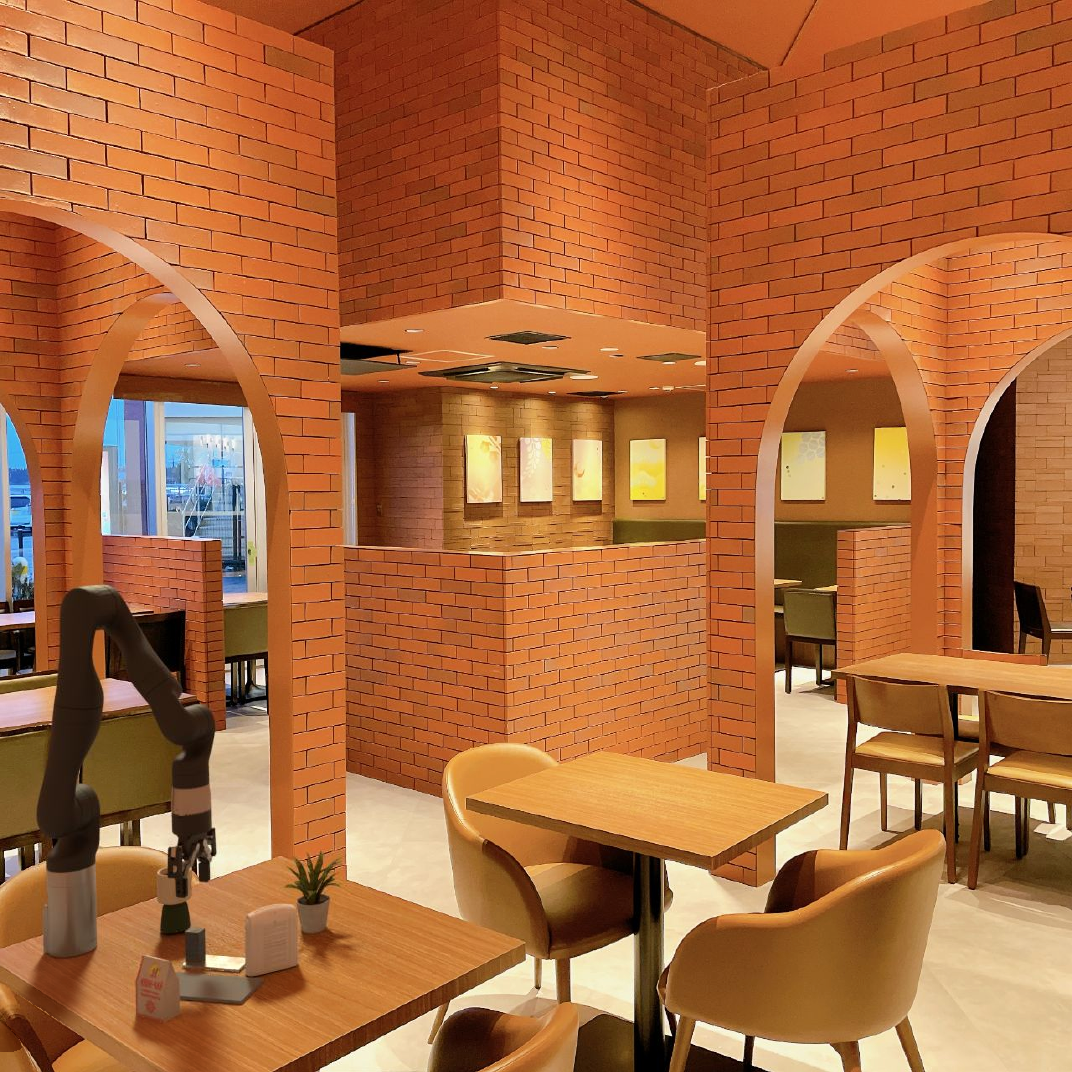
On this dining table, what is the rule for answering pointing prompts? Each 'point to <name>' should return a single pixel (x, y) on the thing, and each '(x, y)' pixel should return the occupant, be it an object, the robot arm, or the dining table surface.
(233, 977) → the mat
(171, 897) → the character mug
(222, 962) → the grey l-shaped piece
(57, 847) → the robot arm
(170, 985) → the tea bag
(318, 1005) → the dining table surface
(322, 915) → the house plant
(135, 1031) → the dining table surface
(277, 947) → the photo printer
